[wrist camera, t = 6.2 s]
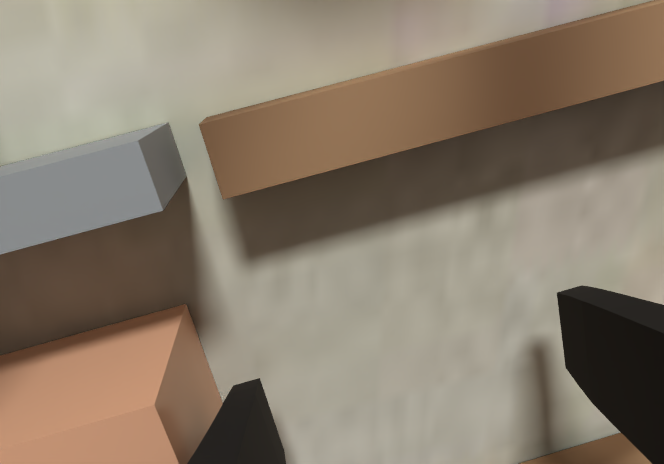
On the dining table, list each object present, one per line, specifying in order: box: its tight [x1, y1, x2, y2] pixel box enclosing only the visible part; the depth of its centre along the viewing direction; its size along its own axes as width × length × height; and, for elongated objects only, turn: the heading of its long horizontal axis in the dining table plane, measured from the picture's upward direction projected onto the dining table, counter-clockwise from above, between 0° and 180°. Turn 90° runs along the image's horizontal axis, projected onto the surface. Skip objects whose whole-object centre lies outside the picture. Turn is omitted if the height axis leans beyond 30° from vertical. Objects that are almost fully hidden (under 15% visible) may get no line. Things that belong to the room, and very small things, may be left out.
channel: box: [199, 0, 664, 464], centre depth 13 cm, size 14×13×2 cm
